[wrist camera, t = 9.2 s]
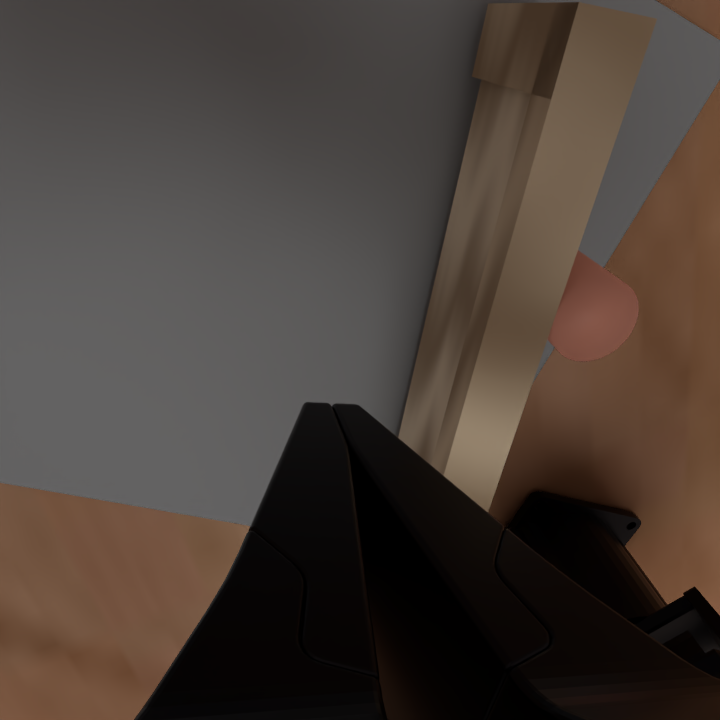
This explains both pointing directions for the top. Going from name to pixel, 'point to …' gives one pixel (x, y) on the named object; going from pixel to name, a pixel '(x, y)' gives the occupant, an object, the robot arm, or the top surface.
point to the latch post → (593, 312)
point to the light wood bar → (516, 224)
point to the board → (247, 223)
